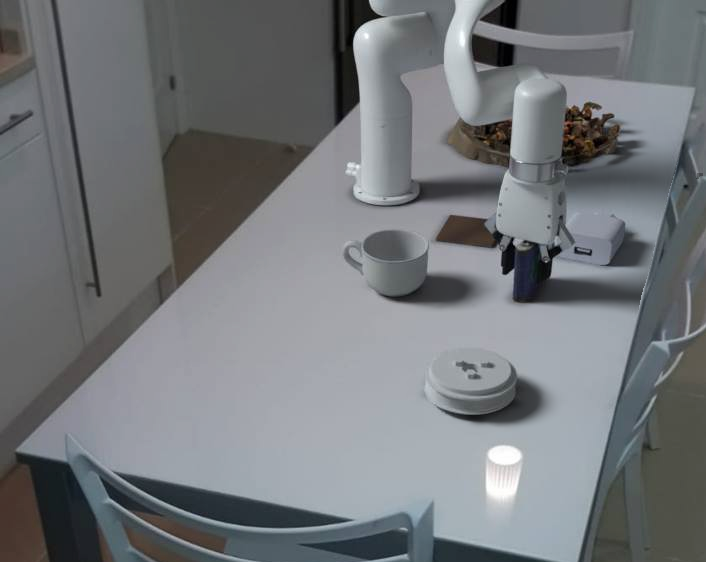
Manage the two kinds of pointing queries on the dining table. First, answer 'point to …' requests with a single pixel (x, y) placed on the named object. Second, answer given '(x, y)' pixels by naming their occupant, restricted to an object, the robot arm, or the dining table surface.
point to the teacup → (391, 260)
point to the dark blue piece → (526, 270)
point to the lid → (470, 381)
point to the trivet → (466, 231)
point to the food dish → (577, 146)
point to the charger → (594, 237)
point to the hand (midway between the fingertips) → (525, 275)
